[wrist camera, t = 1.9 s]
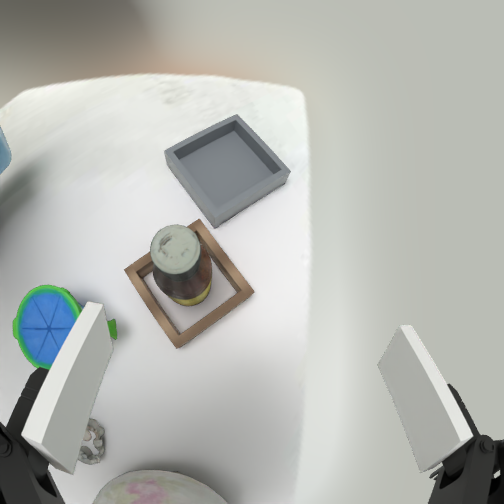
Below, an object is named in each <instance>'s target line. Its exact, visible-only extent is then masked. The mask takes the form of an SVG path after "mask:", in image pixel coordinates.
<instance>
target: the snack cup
mask: <svg viewBox="0 0 504 504" xmlns="http://www.w3.org/2000/svg"><path fill="white" fill-rule="evenodd" d="M83 309H84V307H83V306H82V305H80V304H79V303H78V302H77V301H76V300H75V298H74V297H73V296H72V295H71V294H70V292H69V291H68V290H66V289H64V288H59V287H56V286H52V285H42V286H39V287H36V288H34V289H32V290H31V291H29V293H28V294H27V295H26V296H25V297H24V299H23V300H22V302H21V304H20V306H19V309H18V312H17V317H16V318H15V319H14V320H13V335H14V337H15V338H16V339H17V340H18V343H19V346H20V348H21V350H22V352H23V354H24V355H25V357H26V358H27V359H28V360H29V362H30V363H32V365H33V366H34V367H36V368H37V369H38V368H39V367H42V368H45V369H49V370H50V369H51V367H52V365H53V363H54V361H55V359H56V357H57V355H58V353H59V351H60V349H61V347H62V346H63V344H64V342H65V340H66V338H67V336H68V335H69V333H70V331H71V329H72V327H73V326H74V324H75V322H76V320H77V319H78V317H79V315H80V314H81V312H82V310H83ZM107 324H108V328H109V333H110V336H111V337H112V338H114V339H115V340H116V339H117V330H116V322H115V319H113V320H111V321H107Z"/></svg>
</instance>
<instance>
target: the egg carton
mask: <svg viewBox="0 0 504 504" xmlns="http://www.w3.org/2000/svg"><path fill="white" fill-rule="evenodd" d="M88 430H90V431H93V432H94V433H95V435H96V438H95V439H94V441H93V444H94V446H95V448H96V449H97V450H98V451H99V452H100V453H99V454H98V455H97V456H96V455H93V454H92V452H91V450H90V449H89V448H88V447H86V446H82V447H81V448H80V451H79V455H78V459H77V460H79V461H81V462H83V463H85V464H89V465H92V464H96V463H100V458H99V457H100V456H101V455H102V454H103V453H104V446H102V439H100V437H101V436H102V435H103V434H104V428H102V427H101V426H99V424H98V422H97V421H96V420H94V419H89V421H88V424H87V427H86V430H85V434H84V437H83V440H85V441H89V440H90V439H91V434H90V432H89V431H88Z"/></svg>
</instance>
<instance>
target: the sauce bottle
mask: <svg viewBox="0 0 504 504" xmlns="http://www.w3.org/2000/svg"><path fill="white" fill-rule="evenodd" d="M150 255H151V259H152V261H153V263H154V264H153V276H154V280H155V282H156V284H157V285H158V287H159V288H160V289H161V290H162V291H163V292H164V293H165V294H166V295H168V296H169V297H170V298H171V299H172V300H173V301H175V302H176V303H178V304H180V305H184V306H193V305H196V304H199V303H200V302H202V301H203V300H204V299H205V298H206V297H207V295H208V293H209V291H210V286H211V278H212V264H211V260H210V257H209V254H208V253H207V251H206V250H205V249H204V247H203V246H202V245H200V242H199V239H198V237H197V235H196V234H195V233H194V232H193V231H192V230H191V229H189V228H187V227H185V226H182V225H170V226H166V227H165V228H163V229H161V230H160V231H158V233H157V234H156V235H155V237H154V238H153V240H152V242H151V247H150Z"/></svg>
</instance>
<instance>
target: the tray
mask: <svg viewBox="0 0 504 504" xmlns="http://www.w3.org/2000/svg"><path fill="white" fill-rule="evenodd" d="M164 152H165V157H166V162H167V165H168V167H169V168H170V169H171V171H172V172H173V174H174V175H175V176H176V178H177V179H178V180H179V182H180V183H181V184H182V186H183V187H184V188H185V190H186V191H187V192H188V194H189V195H190V196H191V198H192V199H193V200H194V202H195V203H196V205H197V206H198V207H199V209H200V210H201V211H202V213H203V214H204V215H205V217H206V218H207V219H208V221H209V222H210V223H211V225H212V226H213V227H214V228H216V227H218V226H219V225H221V224H222V223H224V222H225V221H227V220H229V219H230V218H232V217H233V216H235V215H236V214H238V213H239V212H241V211H242V210H244V209H246V208H247V207H249V206H250V205H252V204H253V203H255V202H256V201H258V200H260V199H261V198H263V197H264V196H266V195H268V194H269V193H271V192H272V191H274V190H275V189H277V188H279V187H280V186H282V185H284V184H285V182H286V180H287V178H288V176H289V174H290V172H291V171H290V170H289V169H288V168H287V167H286V165H285V164H284V163H283V162H282V161H281V160H280V159H279V158H278V157H277V155H276V154H275V153H274V152H273V151H272V150H271V149H270V148H269V147H268V146H267V145H266V144H265V143H264V141H263V140H262V139H261V138H260V137H259V136H258V135H257V134H256V133H255V132H254V131H253V130H252V129H251V128H250V127H249V126H248V125H247V124H246V123H245V122H244V121H243V120H242V119H241V118H240V117H239V116H238V115H237V114H236V115H234V116H232V117H230V118H227V119H225V120H223V121H221V122H219V123H217V124H215V125H213V126H211V127H209V128H207V129H205V130H203V131H201V132H199V133H197V134H195V135H193V136H191V137H189V138H187V139H185V140H183V141H181V142H179V143H178V144H176V145H174V146H172V147H170V148H169V149H167V150H165V151H164Z"/></svg>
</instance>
